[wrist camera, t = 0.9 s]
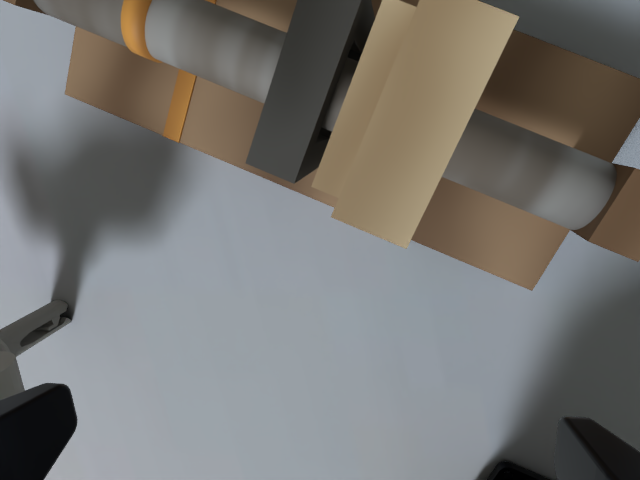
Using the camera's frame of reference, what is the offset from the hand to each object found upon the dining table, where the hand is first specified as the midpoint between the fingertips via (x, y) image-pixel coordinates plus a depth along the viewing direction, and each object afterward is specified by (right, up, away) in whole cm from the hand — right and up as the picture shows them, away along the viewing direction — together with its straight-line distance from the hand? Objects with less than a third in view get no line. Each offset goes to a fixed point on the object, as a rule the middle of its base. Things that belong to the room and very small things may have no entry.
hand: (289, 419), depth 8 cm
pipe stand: (+1, +10, +11) cm, 15 cm away
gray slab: (+1, +9, +9) cm, 13 cm away
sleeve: (+4, +8, +9) cm, 13 cm away
